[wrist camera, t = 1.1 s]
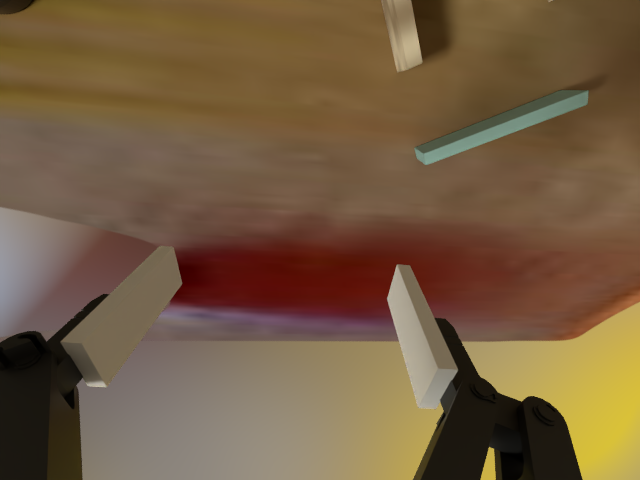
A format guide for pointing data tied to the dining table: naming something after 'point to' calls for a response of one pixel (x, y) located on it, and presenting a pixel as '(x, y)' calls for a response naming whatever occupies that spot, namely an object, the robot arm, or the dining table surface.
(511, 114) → the bar
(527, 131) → the dining table surface
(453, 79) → the dining table surface
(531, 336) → the dining table surface
